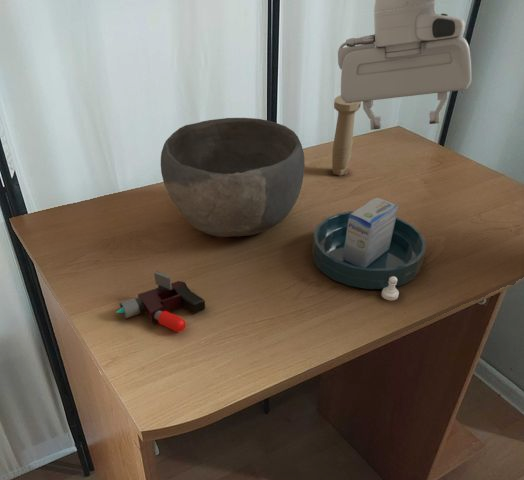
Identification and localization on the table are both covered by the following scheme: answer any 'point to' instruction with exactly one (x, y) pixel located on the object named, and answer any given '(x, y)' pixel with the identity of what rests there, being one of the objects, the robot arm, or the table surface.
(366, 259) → the medicine box
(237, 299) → the table surface
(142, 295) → the toy gun
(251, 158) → the bowl
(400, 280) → the teal bowl
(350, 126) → the handle
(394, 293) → the chess pawn
